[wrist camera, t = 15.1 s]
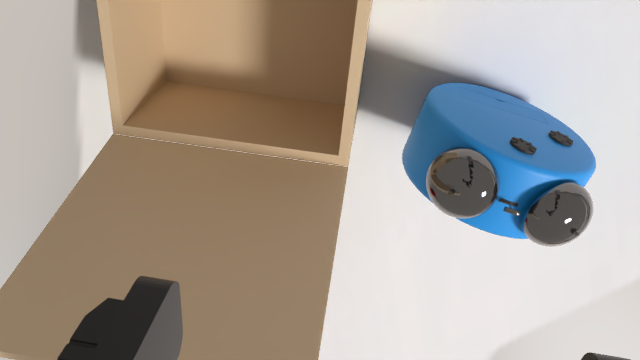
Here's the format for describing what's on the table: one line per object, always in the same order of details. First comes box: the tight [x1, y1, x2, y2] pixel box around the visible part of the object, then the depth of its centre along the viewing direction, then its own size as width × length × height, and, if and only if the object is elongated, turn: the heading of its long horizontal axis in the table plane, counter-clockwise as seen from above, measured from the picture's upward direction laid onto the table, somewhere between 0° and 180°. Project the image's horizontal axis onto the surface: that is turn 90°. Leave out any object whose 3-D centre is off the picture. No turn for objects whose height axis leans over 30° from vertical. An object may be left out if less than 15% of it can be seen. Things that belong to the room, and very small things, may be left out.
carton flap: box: [0, 134, 348, 360], centre depth 32 cm, size 24×18×2 cm
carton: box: [96, 0, 372, 166], centre depth 40 cm, size 18×18×10 cm
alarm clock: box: [402, 83, 596, 247], centre depth 41 cm, size 13×6×15 cm, turn 74°
